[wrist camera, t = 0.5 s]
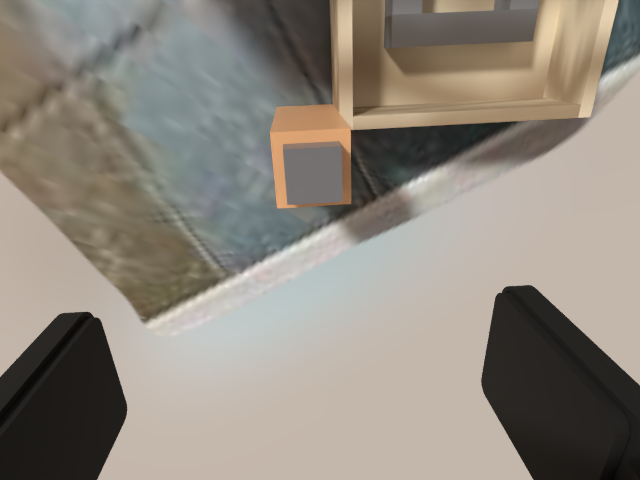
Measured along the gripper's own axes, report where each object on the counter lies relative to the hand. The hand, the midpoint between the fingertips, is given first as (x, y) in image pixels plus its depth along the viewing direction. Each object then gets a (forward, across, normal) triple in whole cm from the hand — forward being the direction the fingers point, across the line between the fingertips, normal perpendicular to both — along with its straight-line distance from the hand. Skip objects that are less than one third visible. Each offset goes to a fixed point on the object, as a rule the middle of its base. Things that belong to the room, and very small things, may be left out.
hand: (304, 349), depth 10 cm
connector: (+23, -1, -2) cm, 23 cm away
